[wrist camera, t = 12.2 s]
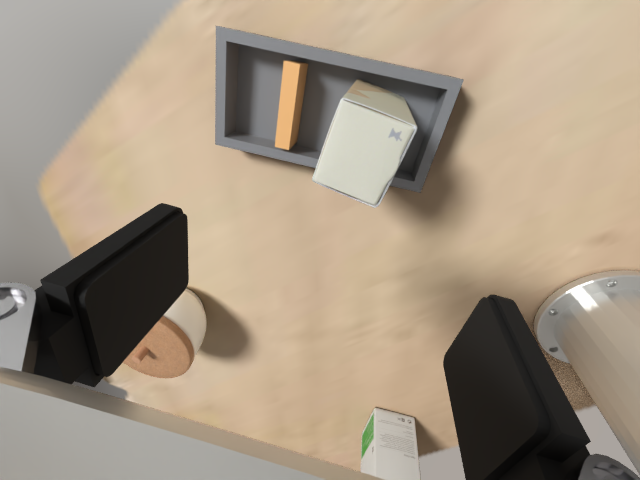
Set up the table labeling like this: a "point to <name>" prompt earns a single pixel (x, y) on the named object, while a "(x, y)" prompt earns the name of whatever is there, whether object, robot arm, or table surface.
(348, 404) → the table surface
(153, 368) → the lidded jar
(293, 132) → the block
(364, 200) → the box
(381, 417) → the skincare box
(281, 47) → the gray tray
